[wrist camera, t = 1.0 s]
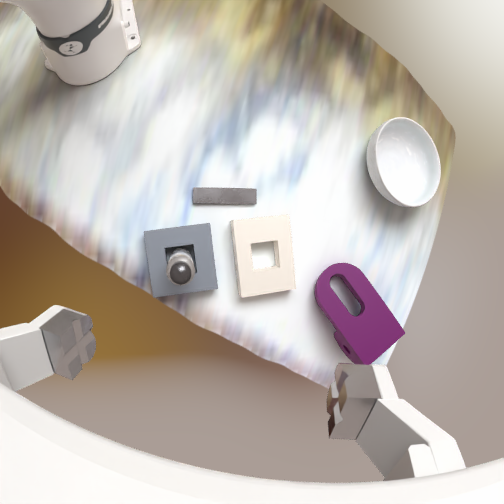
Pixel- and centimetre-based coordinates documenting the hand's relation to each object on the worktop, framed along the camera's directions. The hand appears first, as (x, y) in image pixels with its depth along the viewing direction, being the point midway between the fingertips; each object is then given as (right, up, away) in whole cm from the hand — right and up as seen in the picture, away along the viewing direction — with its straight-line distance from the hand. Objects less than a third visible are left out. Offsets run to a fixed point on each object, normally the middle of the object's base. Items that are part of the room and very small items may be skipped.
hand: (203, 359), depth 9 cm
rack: (+3, +3, +41) cm, 42 cm away
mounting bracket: (+19, -7, +46) cm, 51 cm away
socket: (-10, +2, +38) cm, 40 cm away
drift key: (-3, +12, +40) cm, 42 cm away
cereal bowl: (+29, +20, +46) cm, 58 cm away
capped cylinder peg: (-10, +2, +39) cm, 40 cm away
